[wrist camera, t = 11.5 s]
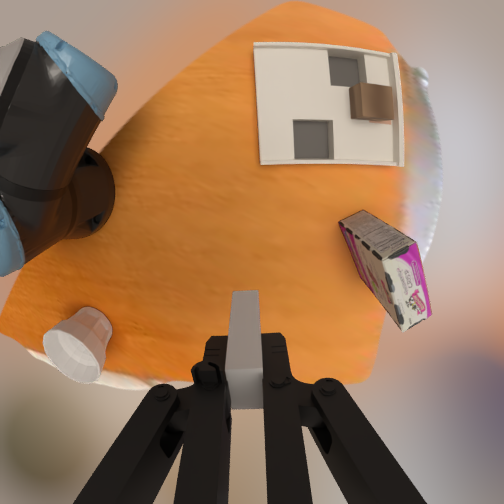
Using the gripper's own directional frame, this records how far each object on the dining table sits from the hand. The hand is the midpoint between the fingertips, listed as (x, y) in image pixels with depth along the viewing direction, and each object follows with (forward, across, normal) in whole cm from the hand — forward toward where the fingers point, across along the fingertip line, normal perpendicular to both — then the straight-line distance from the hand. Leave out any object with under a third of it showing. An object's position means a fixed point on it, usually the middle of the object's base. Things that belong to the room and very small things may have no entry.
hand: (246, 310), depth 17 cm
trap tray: (+26, +12, +16) cm, 33 cm away
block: (+23, +17, +16) cm, 33 cm away
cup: (+27, -32, -20) cm, 46 cm away
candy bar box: (+27, +18, -6) cm, 33 cm away
